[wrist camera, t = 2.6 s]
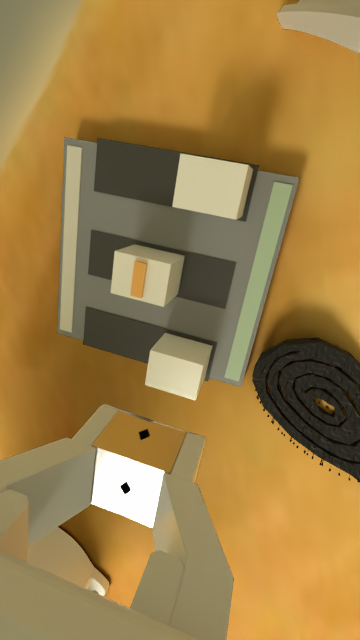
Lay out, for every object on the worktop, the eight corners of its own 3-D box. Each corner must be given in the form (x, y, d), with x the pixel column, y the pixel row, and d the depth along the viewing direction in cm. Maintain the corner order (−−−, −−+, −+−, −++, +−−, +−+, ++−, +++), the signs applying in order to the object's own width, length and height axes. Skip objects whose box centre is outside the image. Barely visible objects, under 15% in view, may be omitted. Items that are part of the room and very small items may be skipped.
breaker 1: (178, 293, 27) (162, 308, 23) (130, 281, 27) (108, 294, 24) (184, 255, 25) (169, 264, 22) (134, 244, 26) (112, 251, 23)
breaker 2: (205, 377, 28) (195, 400, 25) (159, 364, 29) (144, 385, 26) (212, 345, 27) (203, 365, 24) (165, 332, 28) (150, 350, 25)
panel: (242, 381, 29) (240, 390, 28) (66, 330, 33) (56, 336, 31) (300, 174, 23) (301, 172, 22) (75, 136, 26) (63, 132, 25)
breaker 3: (242, 216, 24) (236, 219, 20) (186, 205, 24) (172, 206, 21) (253, 169, 22) (248, 164, 19) (194, 159, 23) (180, 153, 20)
